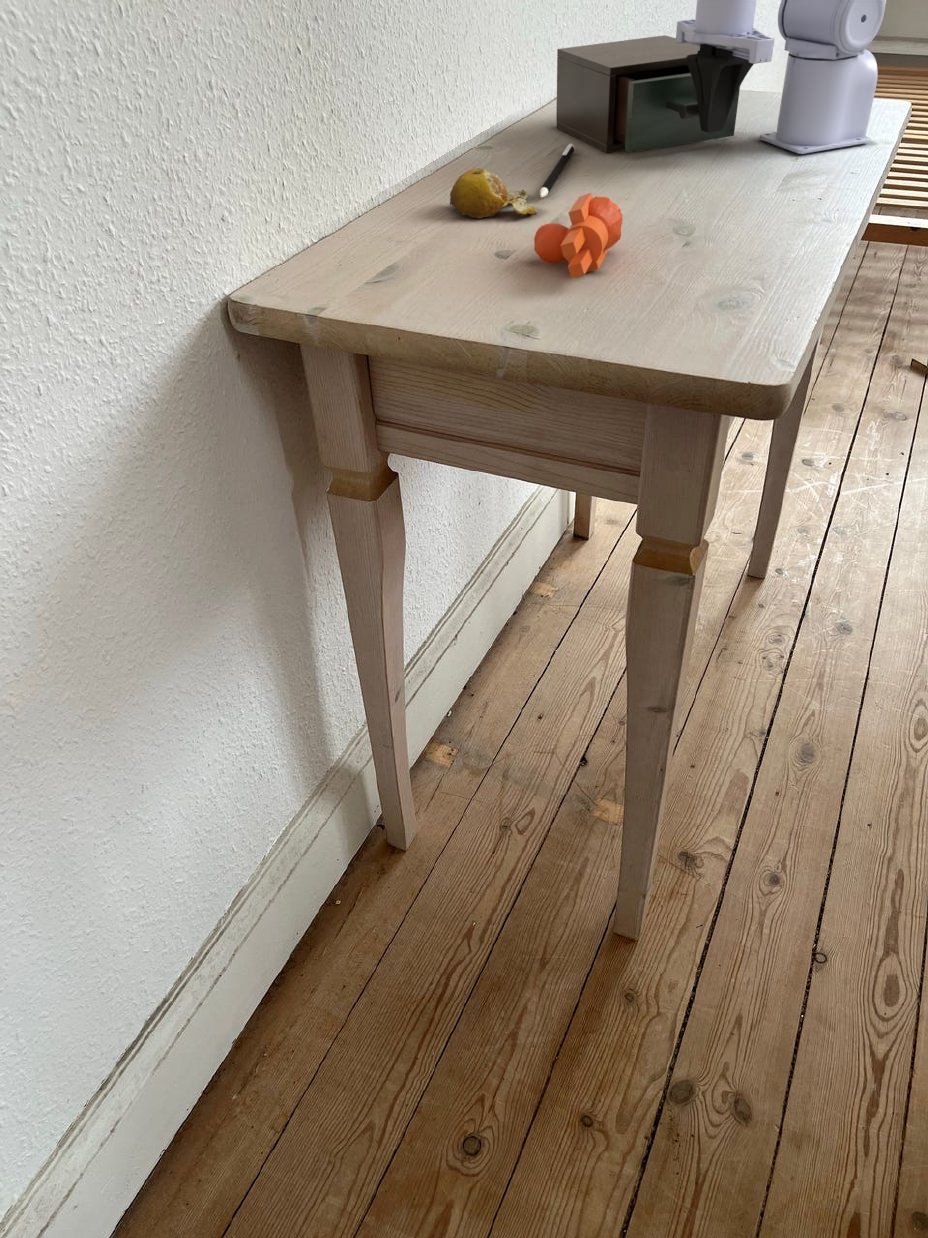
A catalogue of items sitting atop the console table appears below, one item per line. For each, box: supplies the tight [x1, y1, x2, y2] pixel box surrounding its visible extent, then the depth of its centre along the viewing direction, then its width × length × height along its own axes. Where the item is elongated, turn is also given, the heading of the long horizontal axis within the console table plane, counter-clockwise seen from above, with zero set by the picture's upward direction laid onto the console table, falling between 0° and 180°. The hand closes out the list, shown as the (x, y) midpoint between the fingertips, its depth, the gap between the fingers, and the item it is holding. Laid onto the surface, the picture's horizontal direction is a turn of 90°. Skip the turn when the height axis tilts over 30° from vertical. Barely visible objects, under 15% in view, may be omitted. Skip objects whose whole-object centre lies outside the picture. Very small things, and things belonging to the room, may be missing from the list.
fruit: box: [449, 167, 538, 220], centre depth 92 cm, size 8×8×4 cm
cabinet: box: [555, 35, 700, 154], centre depth 111 cm, size 14×15×9 cm
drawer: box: [613, 65, 741, 153], centre depth 106 cm, size 17×13×7 cm
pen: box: [539, 143, 576, 198], centre depth 101 cm, size 1×19×1 cm, turn 165°
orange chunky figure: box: [533, 192, 624, 279], centre depth 80 cm, size 5×8×12 cm
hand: (712, 130), depth 100 cm, fingers closed
